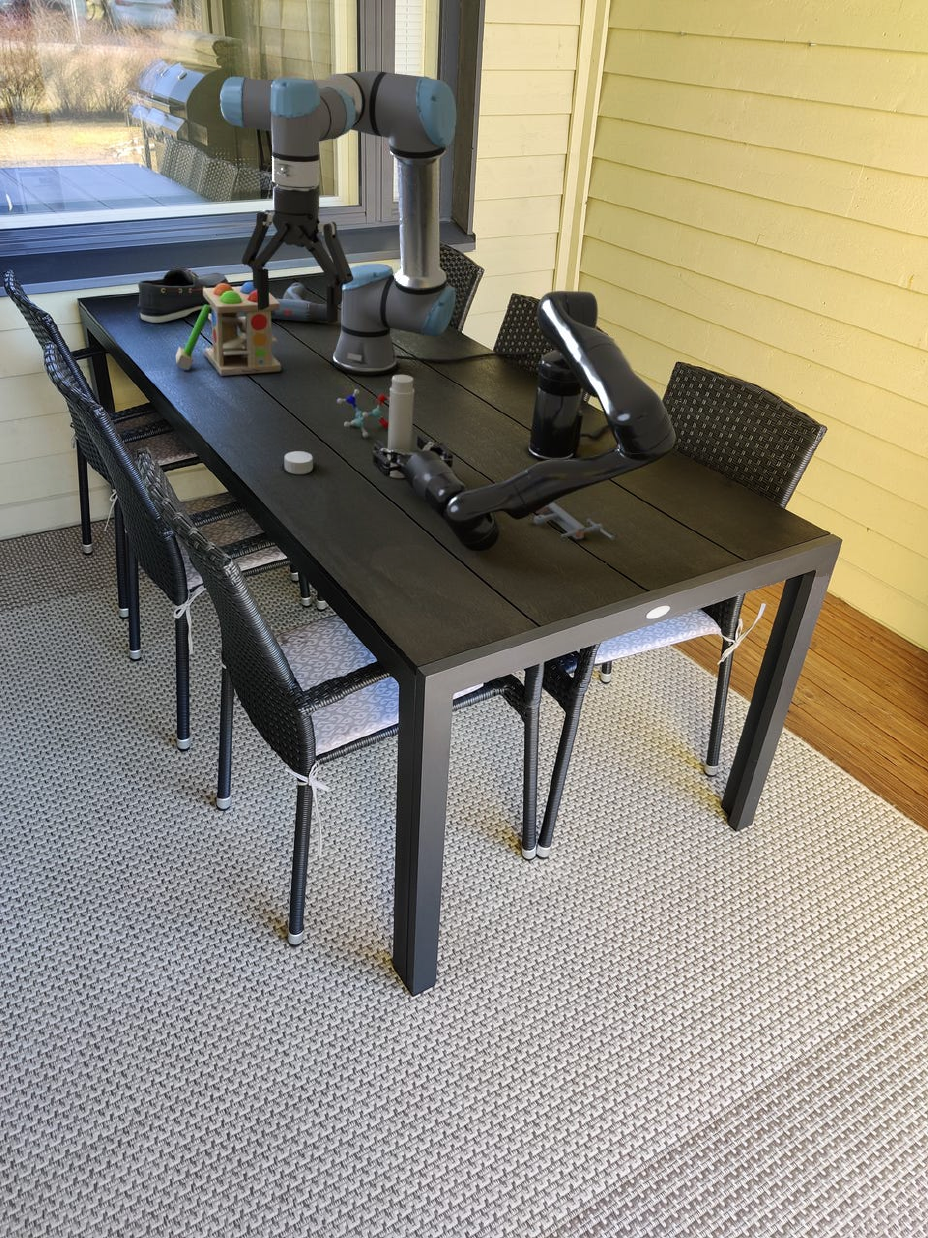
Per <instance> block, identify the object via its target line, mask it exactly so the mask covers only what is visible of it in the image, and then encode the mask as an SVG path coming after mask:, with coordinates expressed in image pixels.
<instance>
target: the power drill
mask: <svg viewBox="0 0 928 1238" xmlns="http://www.w3.org/2000/svg"><path fill="white" fill-rule="evenodd" d="M307 295H308V290H307V287H306V285H304V284H303V283H301V282H293V283H292V284H291V285H290V286H289V287H288V288H287V289H286V291H285V292H284V294H283V297H282V298H275V299H276V300H277V301H278V302H279V303H280V310H271V319H274V320H275V319H276V320H283V321H294V322H295V321H297V322H327V304H324V303H317V302H313V301H307V300H305V299H306V297H307Z"/></svg>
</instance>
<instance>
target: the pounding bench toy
mask: <svg viewBox="0 0 928 1238" xmlns="http://www.w3.org/2000/svg"><path fill="white" fill-rule="evenodd" d="M203 296H204V297H205V299H206V300H207V301H208V302H209V304H210V305H211V307H210V306H208V305H204V307H203V309H201V312H200V313H199V316H198V318H197V320H196V322H195V324H194V327H193V329H192V331H191V332H190V333H191V334H190V336H189V338H188V340H187V343H186V344H185V347H184V348H182V347H180V346H179V347H178V349H177V351H176V354H175V357H174V358H175V362H176V365H177V366H178V368H179V369H182V370H185V371H189V370H190V369H191V367H192V365H193V363H194V356H193V351H194V348H195V347H196V345H197V342H198V340H199V337H200V336H201V333H202V332H203V329H204V326H205V325H206V322H207V320H209V321H210V322H211V336H212V337H211V338H212V339H211V340H212V348H205V349H204V352H205V353H204V355H205V357H206V359H208V361H209V363H210V364H211V365H212V366H213V367H214V369H215V370H216V371H217V372H218V374H219V375H220V376H222V377H223V376H234V375H235V376H236V375H246V374H247V375H250V374H262V373H275V372H281V370H282V364H281V363H280V362H279V360H278V359H277V358H276V357H275V356H274V355H273V348H272V347H273V345H272V344H276V343H278V342H279V341H278V339H277V338H276V337H275V336H274V334H272V318H271V310H280V303H279V302H278V301H277V300H276V299H277V298H276V297H274V296H273V295H272V294H271V293H270V292H269V307H267V308H265V309H263V310H258V300H257V289H255V288H254V286H253V281H247V282H245V283H244V284H243V285H242V286H232V285H230V284H229V285H228V284H226V283H221V284H218V285H217V286H216V287H215V288H204V289H203ZM238 313H244V314H245V315H244V316H238ZM238 329H239V331H240V333H239V334H238Z"/></svg>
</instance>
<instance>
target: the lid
mask: <svg viewBox="0 0 928 1238" xmlns="http://www.w3.org/2000/svg"><path fill="white" fill-rule="evenodd" d="M283 460H284V461H283V464H284V467H283V468H284V470H285V471H286V472H288V473H291V474H294V475H304V474H308V473H310V472H312V471H313V468H314V458H313V455H312V454H311V453H309V452H307V451H302V450H301V451H300V450H295V451H289V452H287V453H286V454H285V455H284V459H283Z"/></svg>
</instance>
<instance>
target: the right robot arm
mask: <svg viewBox="0 0 928 1238" xmlns="http://www.w3.org/2000/svg"><path fill="white" fill-rule="evenodd" d="M536 309H537V310H536V320H537V325H538V329H539V331H540V334H541V335H542V337H543V338H544V340H545V341H546V342H547V343H548V344H549V345H550V346H551V347H552V348H553V349H554V350H552V351H550V352H547V353H546V354H543V355H544V356H543V357H541V358H540V362H539V369H538V376H537V383H536V384H537V385H536V391H535V392H536V393H535V400H534V406H533V407H534V408H533V413H532V423H531V428H530V432H529V435H530V438H529V444H528V448H527V450H528V453H529V454H530V455H531V456H532V457H534V458H536V459H538V460H541V461H539V462H536V463H533V464H531V465H530V466H528V467H525V468H524V469H522V470H520V471H519V472H517V473H515V474H513V475H512V476H510V477H508V478H506V479H505V480H502V481H497V482H494V483H489V484H486V485H482V486H478V487H477V486H476V487H473V488H470V489H469V487H468V486H467V485H466V484H465V482H463V481H462V479H460V477H458V475H457V473H456V472H455V470H453V468H452V467H453V462H454V453H453V452H452V451H451V450H450V449H449V448H448V447H447V445H446V444H445V443H444V442H441V441H440V442H437V444H435V443H434V442H433V441H430V440H429V439H428V438H427V437H424V436H423V435H417V438H416V440H417V441H416V445H417V447H418V448H419V449H417V450H416V449H415V450H411V451H407V452H406V451H402V450H399V449H394V450H391V449H387V446H386V445H385V444H384V443H383V442H382V441H381V440H376V441H375V443H374V450H373V451H372V464H373V466H374V467H375V468H376V469H377V470H378V471H379V472H380V473H382V475H383V476H384V477H391V476H390V471H396V470H397V471H398V472H400V473H402V474H403V475H404V477H405V478H404V479H405V481H406V483H407V484H408V485H409V486H410V487H411V488H412V489H413V490H414V491H415V493H416V494H417V495H418V496H419V498H421V499H422V500H423V502H425V503H426V504H427V505H429V507H431V508H432V510H433V511H434V512H435V513H436V514H437V515H438V516H439V517H440V518H441V519H442V520H443V521H444V522H445V523H446V525H447V526H448V527H449V528H450V530H451V531H452V532H453V534H454V536H455V537H456V538H457V540H459V542H460V543H461V545H462V546H463V547H464V548H466V549H467V550H469V551H471V552H476V553H477V552H481V553H482V552H485V551H487V550H489V549H491V548H493V547H494V546H495V544H496V543H497V541H498V540H499V536H500V525H499V522H498V521H497V519H496V517H495V516H494V513H499V512H503V513H505V514H507V515H508V516H509V517H511V519H513V520H516V521H519V520H523V519H525V518H527V517H529V516H530V515H532V514H534V513H536V511H538V510H540V509H542V508H543V507H545V506H547V505H549V504H551V503H553V502H554V503H555V502H556V501H558V500H560V499H562V498H564V497H567V496H569V495H571V494H573V493H576V492H578V491H580V490H583V489H586V488H589V487H591V486H595V485H597V484H600V483H602V482H606V481H608V480H612V479H615V478H617V477H620V476H622V475H625V474H627V473H630V472H633V471H635V470H639V469H641V468H644V467H646V466H648V465H650V464H653V463H655V462H657V461H659V460H660V459H662V458H664V457H665V456H667V454H669V453H670V452H671V451H672V449H673V448H674V447H675V444H676V442H677V433H676V430H675V428H674V425H673V423H672V420H671V418H670V416H669V412H668V411H667V409H666V406H665V404H664V402H663V400H662V398H661V397H660V396H659V395H658V393H657V392H656V391H655V390H654V389H653V388H652V387H650V385H649V384H647V383H646V382H645V381H644V380H643V379H642V378H640V376H638V374H636V372H635V371H634V370H633V367H632V365H631V364H632V363H630V360H629V359H628V358H627V356H626V354H625V352H624V351H623V350H622V348H621V347H620V346H619V345H618V343H617V341H615V340H614V339H613V338H612V337H611V336H609V335H608V334H607V333H604V332H603V331H601V330H599V329H597V325H598V315H599V305H598V300H597V297H596V296H595V294H594V293H592V292H590V291H579V290H578V291H577V290H554V291H549V292H546V293H545V294H543V296H541V298H540V299H539V302H538V305H537V308H536ZM583 391H584V392H585V394H588V395H589V396H590V397H593V398H596V399H597V400H598V402H599V404H600V407H601V409H602V412H603V415H604V417H605V421H606V423H607V424H606V425H604V426H602V427H601V428H600V429H598V431H596V433H595V434H591V433H583V432H581V430H582V424H583V418H584V413H583V411H581V406H582V397H583ZM607 429H609V430H610V433H611V434H612V437H613V439H614V440H615V443H616V444H615V445H614V446H613V447H610V448H609V449H607V450H606V451H603V452H601V453H597V454H595V455H590V456H584V457H577V455H578V450H579V448H580V444H581V438H589V439H594V440H595V439H597V438H598V437H599V436H600V435H601V434H602V433H603V432H604V431H605V430H607ZM387 454H389V455H390V456H391V459H388V458H387ZM397 455H400V457H399V459H398V461H397Z"/></svg>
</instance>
